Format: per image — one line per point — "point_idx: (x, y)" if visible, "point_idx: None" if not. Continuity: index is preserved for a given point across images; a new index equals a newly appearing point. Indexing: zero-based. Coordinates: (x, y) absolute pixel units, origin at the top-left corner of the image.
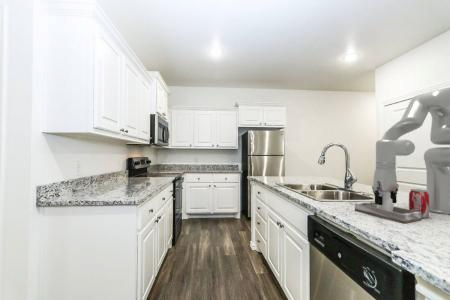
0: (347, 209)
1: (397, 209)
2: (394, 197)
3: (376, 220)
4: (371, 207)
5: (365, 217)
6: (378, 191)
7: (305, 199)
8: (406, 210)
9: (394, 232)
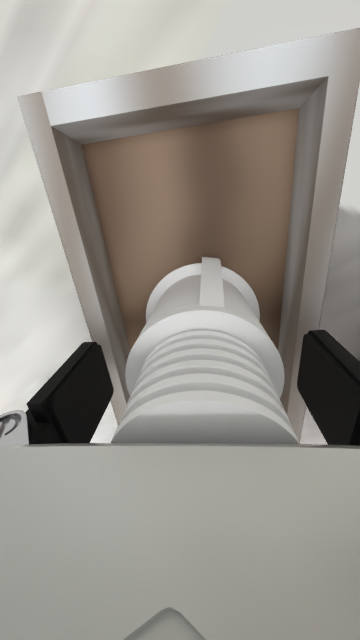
0: (25, 39)
1: (288, 362)
2: (326, 431)
3: (54, 369)
4: (82, 306)
5: (31, 314)
6: (124, 422)
7: None
8: None
9: None
